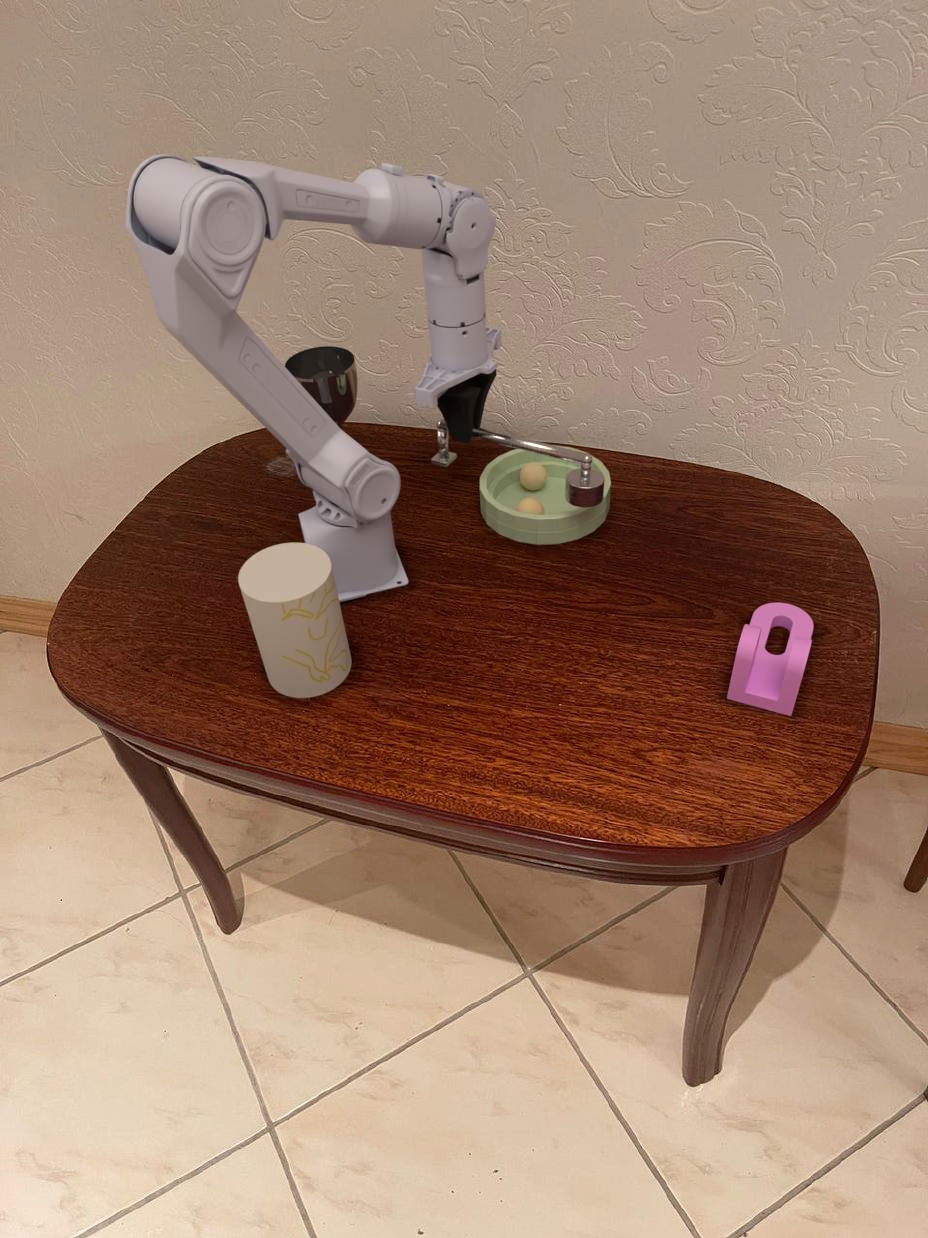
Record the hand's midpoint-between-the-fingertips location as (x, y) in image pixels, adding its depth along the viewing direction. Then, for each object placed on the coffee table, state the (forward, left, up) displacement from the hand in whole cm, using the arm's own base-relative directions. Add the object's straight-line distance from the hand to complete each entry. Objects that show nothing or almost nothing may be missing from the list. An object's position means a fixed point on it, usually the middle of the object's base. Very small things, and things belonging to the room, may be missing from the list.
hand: (465, 436), depth 96 cm
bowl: (+8, -3, -10) cm, 13 cm away
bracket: (+20, -33, -10) cm, 39 cm away
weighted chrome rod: (+3, -4, -4) cm, 6 cm away
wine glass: (-13, +13, -10) cm, 21 cm away
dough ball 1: (+8, +1, -9) cm, 12 cm away
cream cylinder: (-22, -19, -10) cm, 31 cm away
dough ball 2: (+5, -6, -9) cm, 12 cm away
